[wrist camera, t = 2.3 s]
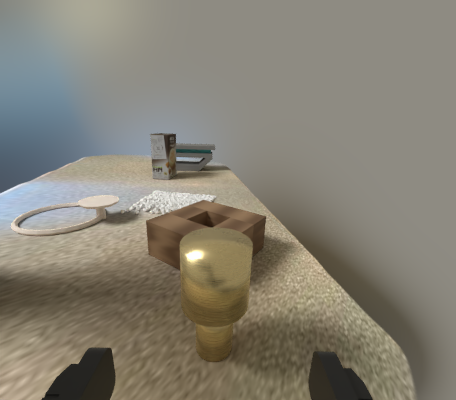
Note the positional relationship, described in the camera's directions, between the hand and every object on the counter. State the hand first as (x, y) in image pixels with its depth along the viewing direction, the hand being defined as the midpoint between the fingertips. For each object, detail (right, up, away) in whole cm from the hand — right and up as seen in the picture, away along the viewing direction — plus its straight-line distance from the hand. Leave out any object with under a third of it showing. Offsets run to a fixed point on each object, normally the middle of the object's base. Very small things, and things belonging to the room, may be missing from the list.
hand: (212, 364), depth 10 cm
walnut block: (-3, -2, +32) cm, 32 cm away
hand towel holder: (-33, +2, +43) cm, 54 cm away
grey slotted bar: (-18, +20, +99) cm, 103 cm away
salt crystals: (-14, +5, +54) cm, 56 cm away
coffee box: (-24, +15, +83) cm, 88 cm away
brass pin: (-1, -8, +15) cm, 17 cm away
